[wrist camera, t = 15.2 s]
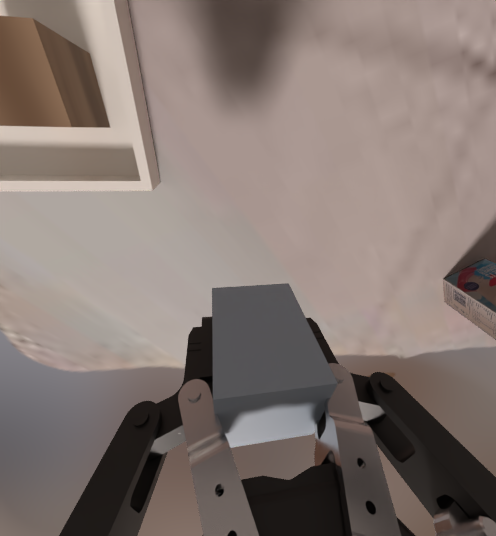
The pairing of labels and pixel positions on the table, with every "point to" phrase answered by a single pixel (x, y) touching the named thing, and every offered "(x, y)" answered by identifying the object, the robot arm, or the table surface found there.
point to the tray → (86, 138)
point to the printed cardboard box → (474, 294)
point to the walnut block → (46, 79)
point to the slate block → (266, 365)
